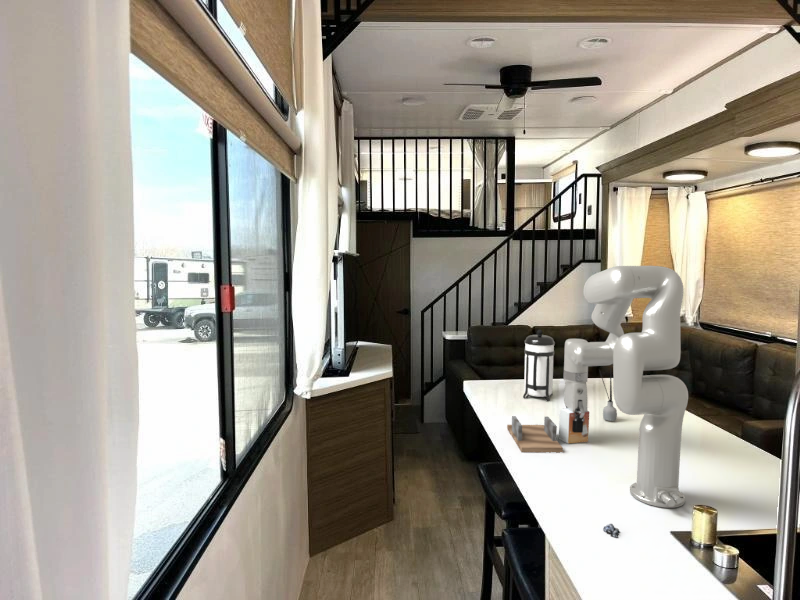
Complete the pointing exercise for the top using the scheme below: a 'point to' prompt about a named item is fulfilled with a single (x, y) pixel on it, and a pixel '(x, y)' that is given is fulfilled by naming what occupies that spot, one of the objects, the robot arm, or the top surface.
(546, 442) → the holder stand
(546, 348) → the coffee press
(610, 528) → the blueberries
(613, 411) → the reed diffuser
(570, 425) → the small box
